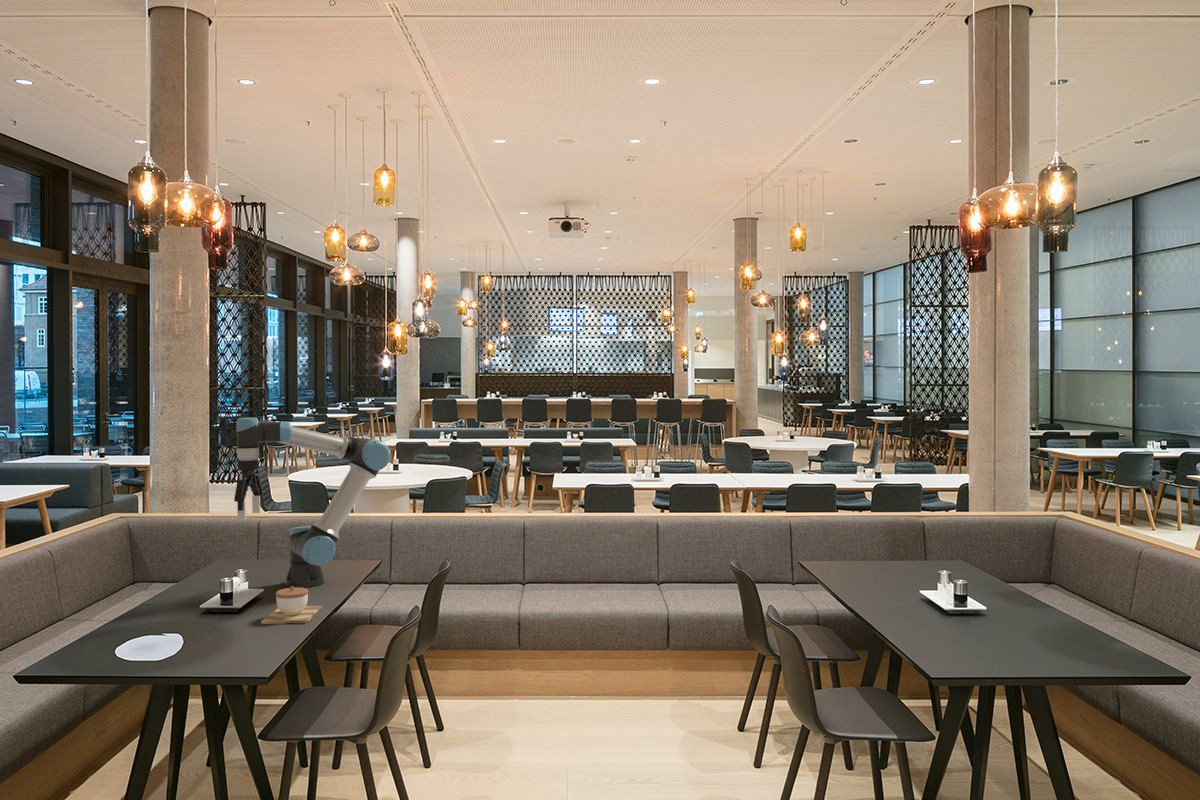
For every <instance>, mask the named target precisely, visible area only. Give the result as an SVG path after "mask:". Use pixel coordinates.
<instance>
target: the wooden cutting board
mask: <svg viewBox="0 0 1200 800" xmlns="http://www.w3.org/2000/svg"><path fill="white" fill-rule="evenodd" d="M320 609H321V610H323V605H306V607H305V609H304V610H303V611H302V613H300V614H298V615H290V616H288V615H284V614H283V613H282V612H281V611H280V610H279V608H278V607H277V608H276V609H275V610H273V612H271V613H269V614H268V615H267V616H266V617H264V618H263V619H262V620H261V624H262V625H268V624H269V625H270V624H271V625H276V624H277V625H278V624H279V625H282V624H283V625H285V624H286V623H306V622H307V621H308V622H310V620H311V619H313V618H314V617H315V616H316V615H317V614H318V613H319V612H320V611H321V610H320ZM319 610H320V611H319ZM318 611H319V612H318ZM317 612H318V613H317ZM316 613H317V614H316ZM315 614H316V615H315ZM314 615H315V616H314ZM313 616H314V617H313ZM308 622H307V623H308ZM307 623H306V624H307Z"/></svg>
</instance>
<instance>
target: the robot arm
mask: <svg viewBox="0 0 1200 800" xmlns="http://www.w3.org/2000/svg"><path fill="white" fill-rule="evenodd" d="M235 432H236V451H235V452H236V454H237V455H236V457H237V459H238V460H237V461H236V466H237V467H236V469H237V470H238V471H241V473H237V481H236V486H235V493H234V498H233V500H234V502H235V503H236V502H237V505H236V506H237V510H236V511H237V520H247V511H246V510H247V509H246V508H247V506H246V505H247V504H246V503H247V502H246V501H245V499H246V496H247V492H248V488H250V491H251V493H252V496H251V504H252V505H251V510H252V514H260V513H261V496H263V495H264V494H263V488H262V483H261V478H260V472H259V469H260V460H259V458H260V450H259V449H260V446H259V444H261V443H278V444H284V445H287V446H292V447H296V448H301V449H306V450H311V451H315V452H319V453H323V454H327V455H333V456H337V458H338V459H339V460H343V461H347V462H349V463H348V464H349V467H350V469H349V471H348V472H347V474H346V476H345V477H344V479H343V481H342V482H341V484H340V485H339V487H338V489H337V491H336V492H335V494H334V496H333V498H332V499H331V500H330V502H329V503H328V506H327V507H326V508H325V511H324V512H323V514H322V516H321V517H320V519H319V520H318V521H317V522H315V523H312V525H304V526H296V527H292V528H290V529H289V534H288V541H289V543H288V544H289V546H288V547H289V567H288V569H287V573H286V577H285V579H284V581H285V586H286V587H288V588H290V587H291V586H294V588H295V587H300V588H311V587H310V586H312V587H316V585H317V586H320V585H323V584H324V583H326V575H325V573H324V570H323V567H322V565H325V564H327V563H329V562H330V561H331V560H332V559H333V557H334V556H335V554H336V544H337V543H338V541H339V539H340V536H339V532H340V530H341V528H342V526H343V524H344V523H345V522H346V520H347V518H348V516H349V514H350V513H351V511H352V510H353V508H354V506H355V504H356V503H357V502H358V500H359V498H360V497H361V495H362V493H363V491H364V490H365V488H366V486H367V484H368V483H369V481H370V480H372V479H374V478H376V477H377V475H378V474H379V471H380V470H383V469H384V468H386V467H387V466H388V464H389V463H390V460H391V451H390V449H389V447H388V446H387V444H386V443H384V442H383V441H381V440H379V439H373V438H367V437H351V436H347V435H343V436H342V437H340V436H336V435H331V434H328V433H322V432H319V431H315V430H311V429H307V428H301V427H299V426H298V427H297V426H292V424H291V422H289V421H273V420H272V421H271V420H267V419H262V420H259V419H258V418H257V417H240V418H238V419H237V420H236V429H235ZM322 583H323V584H322Z"/></svg>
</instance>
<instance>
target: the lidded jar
mask: <svg viewBox="0 0 1200 800" xmlns="http://www.w3.org/2000/svg"><path fill="white" fill-rule="evenodd" d="M308 594H309V589H308V588H307V587H300V588H299V587H294V586H291V587H287V588H286V587H285V588H282V589H279V590H277V591H276V592H275V599H276V600H275V601H276V606H277V609H278V608H279V610H280V611H281V612H282V613H283V614H284V615H288V616H290V615H298V614H300V613H302V611H303V610H304V609H305V607H306V606H308V605H307V604H308V601H309V595H308Z"/></svg>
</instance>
